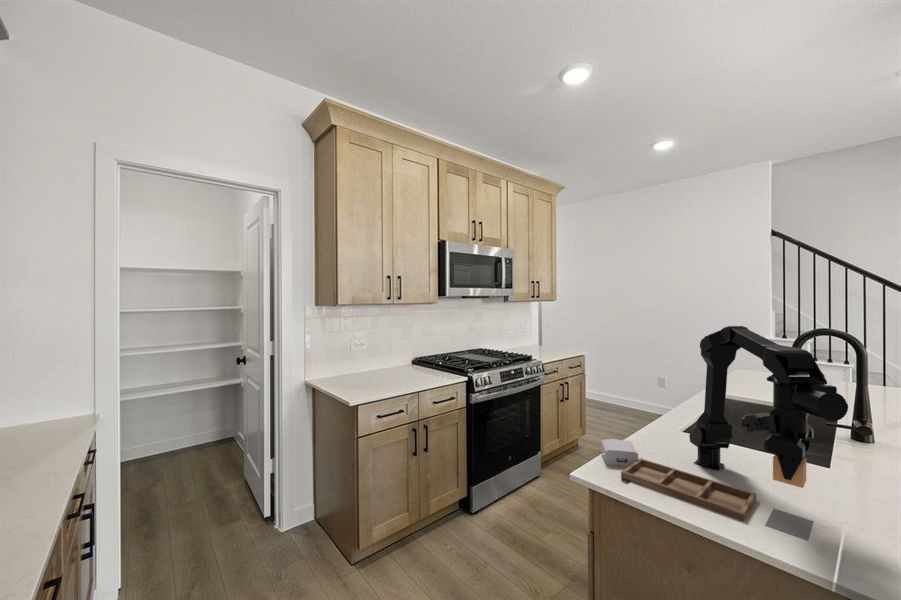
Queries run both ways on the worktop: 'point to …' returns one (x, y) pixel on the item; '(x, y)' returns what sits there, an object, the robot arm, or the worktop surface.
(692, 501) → the organiser
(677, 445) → the worktop surface
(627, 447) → the charger
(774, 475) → the letter cube
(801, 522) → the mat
